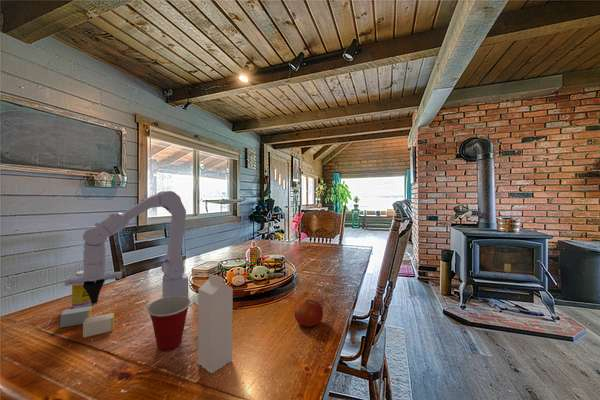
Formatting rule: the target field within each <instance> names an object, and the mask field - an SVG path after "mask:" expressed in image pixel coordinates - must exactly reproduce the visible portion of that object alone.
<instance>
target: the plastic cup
mask: <svg viewBox="0 0 600 400" xmlns="http://www.w3.org/2000/svg"><path fill="white" fill-rule="evenodd" d="M191 303H192V300H191V299H190V297H189V296H188V297H186V296H180V295H178V296H168V297H164V298H161V297H160V298H159V299H156V300H154V301H152V302H151V303H150V304H149V305H148V306H147V307H146V309H147V313H148V314H149V316H150V319H151V320H150V321H151V323H152V327H153V334H154V339H155V343H156V347H157V349H158V351H160V352H170V351H173V350H175V349H177V348H178V347H179V346H180V345H181V342H182V340H183V335H184V331H185V325H186V318H187V313H188V310H189V307H190V305H191Z"/></svg>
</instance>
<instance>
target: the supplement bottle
mask: <svg viewBox="0 0 600 400" xmlns="http://www.w3.org/2000/svg"><path fill="white" fill-rule="evenodd" d="M78 276H83V270H80V271H76V273H75V277H78ZM83 285H84V283H79V284H72V285H71V289H72V290H71V307H72V309H74V308H81V307H88V306H93V304H91V300H90V297H89V295H88V293H87V291H86V290H85V289H84V287H83Z"/></svg>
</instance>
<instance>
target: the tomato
mask: <svg viewBox="0 0 600 400" xmlns="http://www.w3.org/2000/svg"><path fill="white" fill-rule="evenodd" d="M323 317H324V310H323V306H322V305H321V303H320V302H318V301H317V300H313V299H310V298H306V299H304V300H301V301H299V303H297V305H296V306H295V309H294V319H295V321H296V322H297V324H298V325H300V326H302V327H303V326H304V327H313V326H316V325H319V324H320V322H322V320H323Z"/></svg>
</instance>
